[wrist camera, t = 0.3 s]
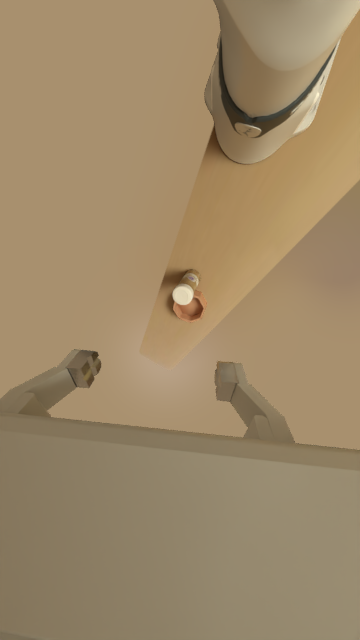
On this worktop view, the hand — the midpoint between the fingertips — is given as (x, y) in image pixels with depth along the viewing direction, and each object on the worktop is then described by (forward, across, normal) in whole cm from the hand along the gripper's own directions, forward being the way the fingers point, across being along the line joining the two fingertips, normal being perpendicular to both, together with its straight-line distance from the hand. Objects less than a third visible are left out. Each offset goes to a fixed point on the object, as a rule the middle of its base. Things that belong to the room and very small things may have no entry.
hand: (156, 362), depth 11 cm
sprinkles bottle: (+39, -2, +7) cm, 39 cm away
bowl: (+38, -2, +15) cm, 41 cm away
